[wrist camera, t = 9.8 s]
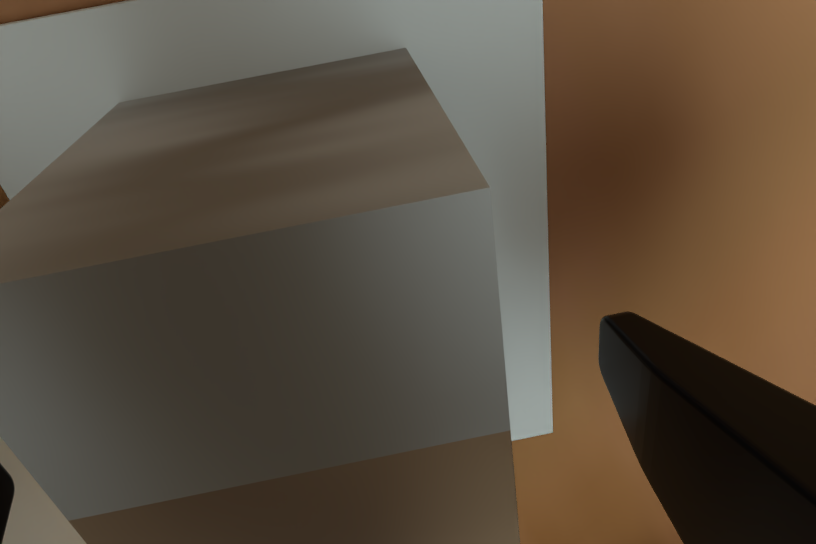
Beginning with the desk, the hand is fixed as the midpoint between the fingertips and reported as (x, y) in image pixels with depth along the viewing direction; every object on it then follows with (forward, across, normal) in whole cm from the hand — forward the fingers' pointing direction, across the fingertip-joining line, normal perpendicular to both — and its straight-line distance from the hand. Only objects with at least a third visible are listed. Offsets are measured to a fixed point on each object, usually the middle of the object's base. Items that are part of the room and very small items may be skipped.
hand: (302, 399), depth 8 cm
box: (+4, 0, +1) cm, 4 cm away
